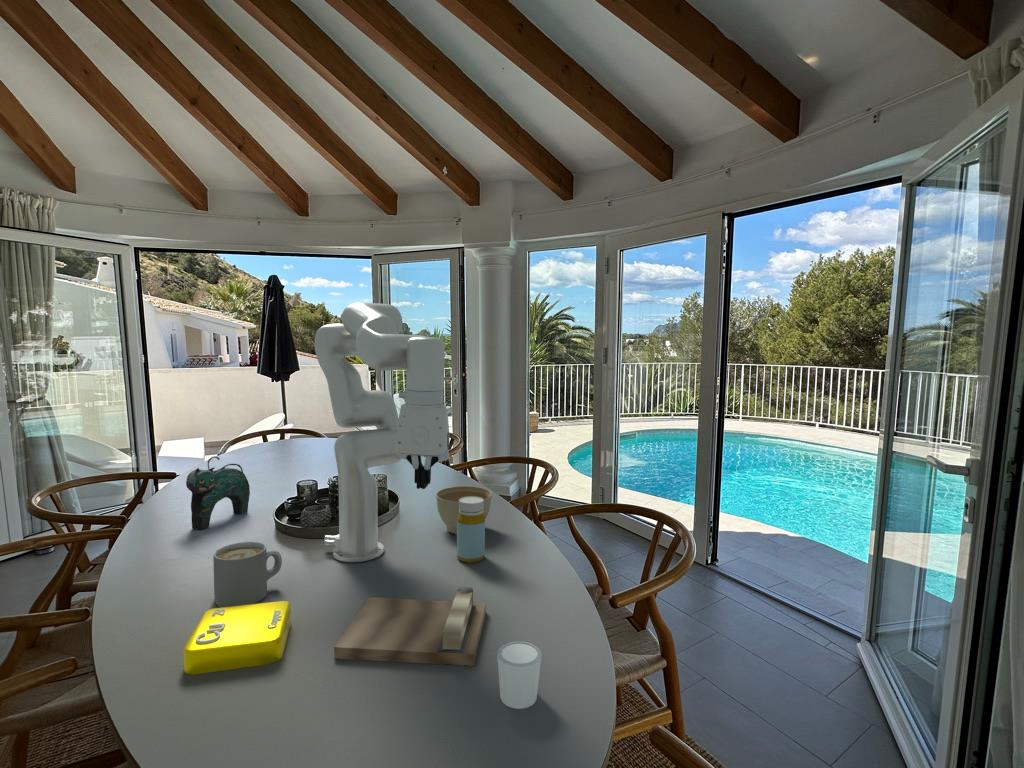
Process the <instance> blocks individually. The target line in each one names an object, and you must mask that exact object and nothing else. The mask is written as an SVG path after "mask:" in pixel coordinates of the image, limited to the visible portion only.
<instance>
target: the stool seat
mask: <svg viewBox="0 0 1024 768" xmlns="http://www.w3.org/2000/svg"><path fill="white" fill-rule="evenodd" d="M453 601H454V600H452V601H451V600H434V599H433V600H432V599H431V600H430V599H410V598H409V599H408V598H392V597H391V598H390V597H386V598H385V597H368V599H367V600H366V601H365V603H364V604H363V605H362V607H361V609H360V610H359V612H358V613H357V614H356V615H355V617H354V618H353V619H352V621H351V622H350V623H349V625H348V626H347V628H346V629H345V631H344V633H343V634H342V635H341V637H339V640H338V641H337V642H336V644H335V645H334V647H333V657H334V659H338V660H339V659H340V660H356V661H359V660H360V661H376V662H392V663H393V662H394V663H396V662H397V663H411V664H413V663H414V664H415V663H416V664H429V663H430V664H431V665H445V664H451V665H450V666H464V665H468V667H474V665H475V662H476V661H475V660H476V657H477V652H478V648H479V645H480V640H481V635H482V632H483V631H482V630H483V626H484V622H485V617H486V613H487V602H474V601H473V606H472V608H471V612H470V616H469V619H468V623H467V627H466V630H465V634H464V638H463V642H462V645H461V649H460V650H453V649H443V630H444V627H445V624H446V621H447V618H448V616H449V613H450V610H451V607H452V604H453ZM474 661H475V662H474Z"/></svg>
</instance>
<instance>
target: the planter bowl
mask: <svg viewBox="0 0 1024 768" xmlns="http://www.w3.org/2000/svg"><path fill="white" fill-rule="evenodd" d="M470 496H474V497H480V498H482V499H483V500H484V508H483V513H484V516H485V520H486V519H487V517H488V515H489V512H490V509H491V503H492V501H491V500H492V496H493V495H492V491H490V490H489V489H486V488H485V487H484V488H483V487H480V486H470V485H469V486H468V485H467V486H466V485H458V486H457V485H456V486H450V487H446V488H442V489H440V490H438V491H437V492H436V493H435V498H436V507H437V512H438V515H439V517H440V518H441V521H442V523H444V525H445V526H446V529H447V532H448V533H450V532H451V533H450V534H453V533H454V534H453V535H457V517H458V514H459V499H461V498H463V497H470Z"/></svg>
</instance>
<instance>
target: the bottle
mask: <svg viewBox="0 0 1024 768" xmlns="http://www.w3.org/2000/svg"><path fill="white" fill-rule="evenodd" d="M483 508H484V500H483V499H482V498H480V497H474V496H470V497H463V498H461V499H459V514H458V517H457V534H456V557H457V558H458V559H459V561H460V560H461V561H460V562H462V561H463V563H467V562H469V563H468V564H470V562H474V563H478V562H480V561H482V560H483V559H484V558H485V555H486V550H485V549H486V545H485V544H486V519H485V516H484V513H483Z"/></svg>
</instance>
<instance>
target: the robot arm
mask: <svg viewBox="0 0 1024 768" xmlns="http://www.w3.org/2000/svg"><path fill="white" fill-rule="evenodd" d="M340 317H341V318H340V321H341V323H328V324H325V325H323V326H321V327H319V328H318V329H317V330H316V331H315V332H316V333H315V335H314V350H315V355H316V360H317V362H318V364H319V366H320V368H321V370H322V372H323V374H324V377H325V379H326V383H327V386H328V393H329V397H330V402H331V408H332V414H333V417H334V420H335V422H336V424H337V426H339V427H341V428H343V429H354V428H355V429H356V428H367V427H375V429H362V430H361V429H360V430H353V431H352V430H351V431H348V432H344V433H342V434H341V435H339V436H338V437H337V438H336V440H335V442H334V447H333V448H334V449H333V450H334V456H335V458H334V459H335V463H336V469H337V478H338V479H337V480H338V534H337V535H332V534H330V535H329V534H325V535H324V539H323V542H324V546H333V547H334V548H333V550H332V557H333V558H334V559H336V560H337V561H339V562H343V563H362V562H369V561H371V560H374V559H376V558H379V557H381V556H382V554H384V552H385V545H384V544H383V543H381V542H380V541H378V540H379V538H378V535H379V533H378V525H379V523H378V522H379V520H378V518H379V517H378V515H379V514H378V509H379V508H378V507H379V506H378V505H379V504H378V503H379V502H378V501H379V500H378V499H379V498H378V497H379V496H378V495H379V494H378V483H377V480H376V479H375V477H374V476H373V475H372V474H371V472H369V469H371V468H374V467H375V468H376V467H380V466H381V467H382V466H387V465H393V464H397V463H398V462H400V461H401V460H402V459H403V460H406V461H407V462H408V463H409V464H410V465H411V467H412V469H414V481H413V482H414V484H416V489H417V490H418V489H422V490H425V489H427V487H428V486H429V485H430V484H431V482H432V481H431V480H432V479H431V475H432V468H433V466H434V465H435V464H437V463H440V462H444V461H448V460H449V459H450V458H451V457H450V452H449V448H450V425H449V423H450V422H449V416H448V415H449V414H448V410H447V409H448V408H447V405H446V404H444V393H445V391H444V387H445V384H444V383H445V355H446V354H445V351H446V350H445V349H446V348H445V341H444V340H443V339H442V338H440V337H431V336H426V335H422V334H421V335H420V334H406V333H405V334H403V333H401V331H402V329H403V318H402V317H403V316H402V313H401V311H400V310H399V309H398V308H397V307H396V306H394V305H393V304H389V303H377V302H376V303H375V302H374V303H373V302H361V301H360V302H355V303H354V302H353V303H351V304H349V305H348V306H346V307H345V308H344V309H343V311H342V313H341V316H340ZM345 357H359V359H360V360H361V362H363V363H364V364H365V365H367V366H368V367H369V368H370V369H372V370H377V371H383V372H384V371H405V389H404V390H402V391H400V390H399V392H398V398H399V399H403V400H404V403H403V404H401V405H400V409H399V413H398V410H397V405H396V403H395V400H394V398H393V396H392V395H391V394H390V393H389V392H387V391H385V390H380V389H379V390H377V389H375V390H367V389H365V388H364V387H363V382H362V378H361V377H362V376H361V374H360V372H359V371H358V370H357V369H356V367H355V366H354V365H353V364H352V363H351V362H350V361H349V360H347V359H346V358H345ZM422 456H423V457H425V458H424V464H423V461H422V460H423V459H422Z"/></svg>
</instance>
